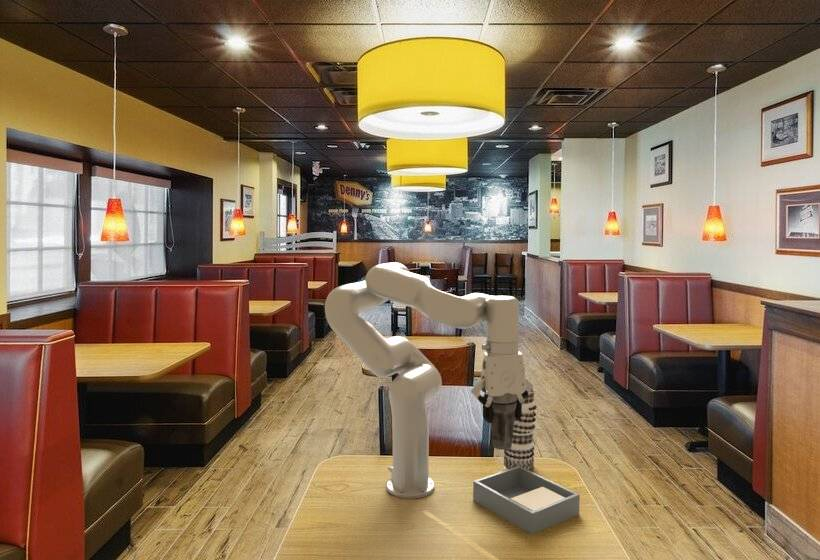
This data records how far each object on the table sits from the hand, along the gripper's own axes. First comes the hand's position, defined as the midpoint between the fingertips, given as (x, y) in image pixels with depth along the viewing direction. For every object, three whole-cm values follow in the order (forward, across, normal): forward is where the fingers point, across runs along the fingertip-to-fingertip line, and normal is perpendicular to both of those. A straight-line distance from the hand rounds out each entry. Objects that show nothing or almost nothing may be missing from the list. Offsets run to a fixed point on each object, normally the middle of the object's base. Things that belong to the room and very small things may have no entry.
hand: (502, 418), depth 146 cm
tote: (+23, +5, -2) cm, 24 cm away
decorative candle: (+23, +15, +19) cm, 34 cm away
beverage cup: (+7, 0, 0) cm, 7 cm away
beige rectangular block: (+22, +6, -7) cm, 24 cm away
